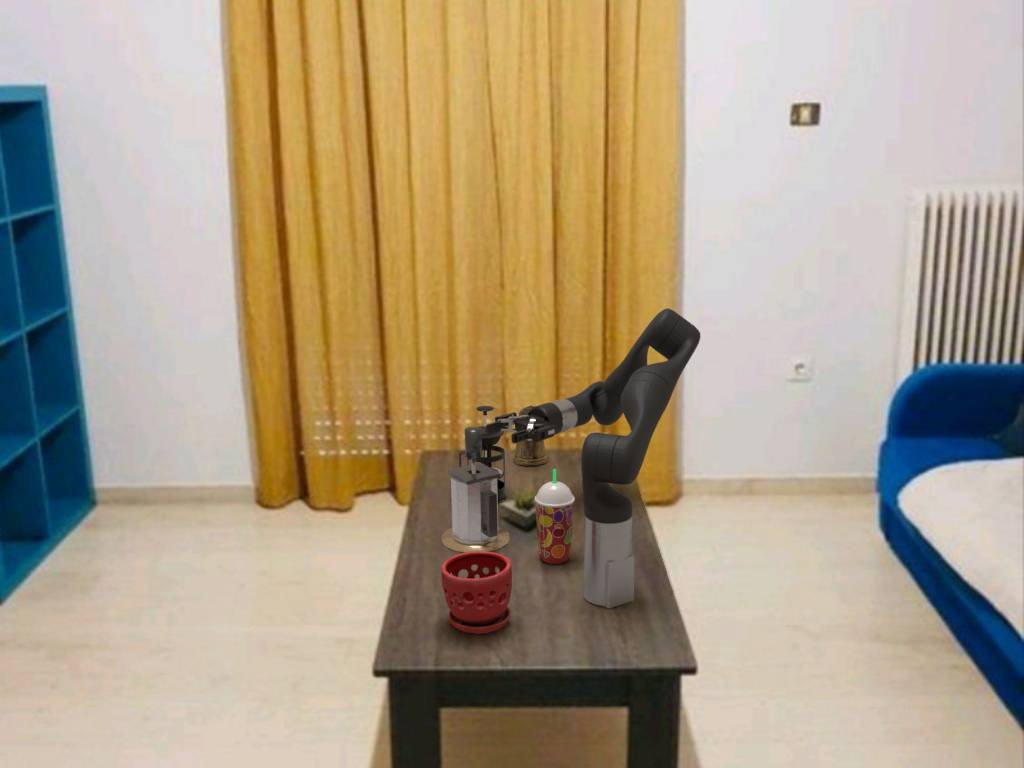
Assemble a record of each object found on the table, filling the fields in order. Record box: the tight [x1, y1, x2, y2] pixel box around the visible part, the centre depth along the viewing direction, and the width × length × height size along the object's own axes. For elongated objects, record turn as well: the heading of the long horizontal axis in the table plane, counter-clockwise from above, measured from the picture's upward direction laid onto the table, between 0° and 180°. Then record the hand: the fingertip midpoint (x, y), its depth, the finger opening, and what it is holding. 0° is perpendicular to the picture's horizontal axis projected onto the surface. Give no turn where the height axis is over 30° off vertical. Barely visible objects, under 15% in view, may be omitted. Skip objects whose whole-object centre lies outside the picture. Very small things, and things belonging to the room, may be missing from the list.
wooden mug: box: [513, 405, 548, 467], centre depth 287 cm, size 9×14×18 cm, turn 0°
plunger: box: [464, 426, 483, 474], centre depth 240 cm, size 8×8×22 cm
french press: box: [458, 405, 507, 502], centre depth 264 cm, size 12×9×23 cm
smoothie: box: [534, 468, 576, 565], centre depth 230 cm, size 8×8×20 cm
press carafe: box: [441, 462, 511, 553], centre depth 241 cm, size 15×15×16 cm
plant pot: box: [440, 551, 513, 635], centre depth 205 cm, size 13×13×12 cm
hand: (499, 434), depth 242 cm, fingers open, 8 cm apart
